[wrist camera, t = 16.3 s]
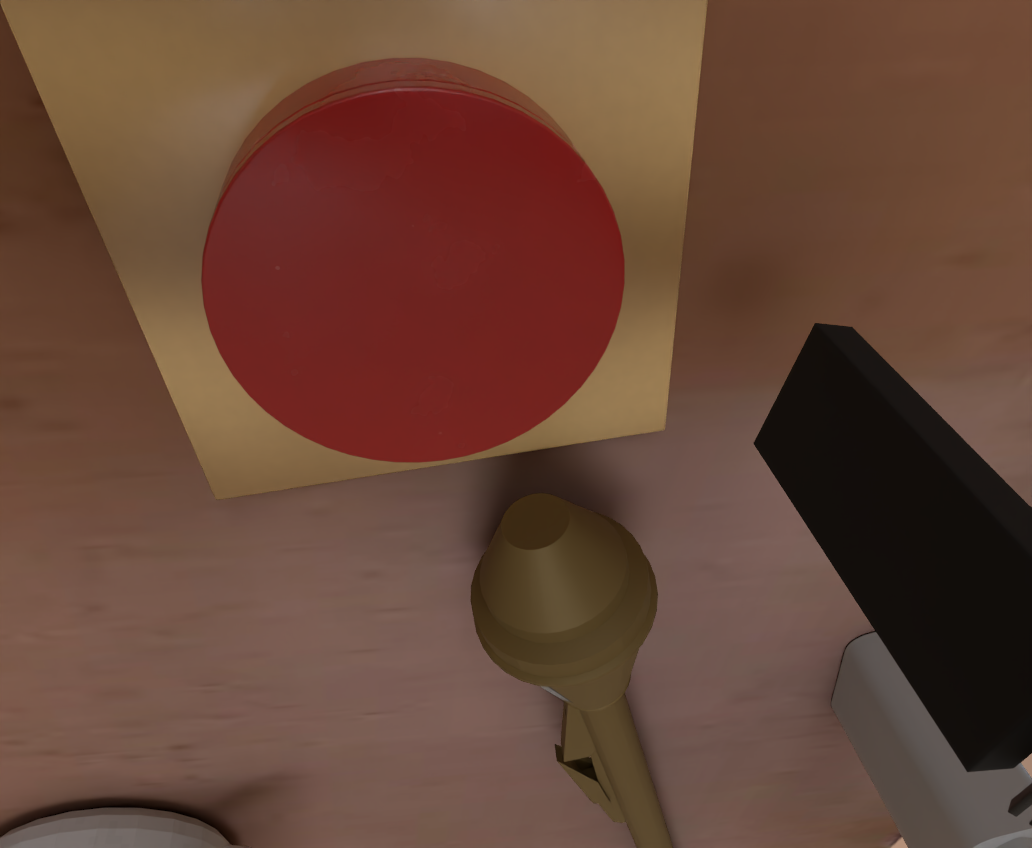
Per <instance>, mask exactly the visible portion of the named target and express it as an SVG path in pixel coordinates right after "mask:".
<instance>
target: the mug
mask: <svg viewBox="0 0 1032 848" xmlns="http://www.w3.org/2000/svg"><path fill="white" fill-rule="evenodd" d="M0 848H251V847H250V846H240V845H231V844H230V843H229V842H228V841H227V840H226V839H225V838H224V837H223V836H222V835H221V834H220V833H219V832H218V830H217V829H215V828H213V827H211V826H209V825H207V824H206V823H204V822H202V821H200V820H198V819H195V818H191V817H188V816H184V815H181V814H177V813H173V812H168V811H160V810H153V809H145V808H97V809H89V810H80V811H71V812H66V813H62V814H58V815H54V816H49V817H45V818H41V819H37V820H35V821H32V822H30V823H27V824H25V825H22V826H20V827H17V828H15V829H12V830H10V831H9V832H7V833H6V834H5V835H3V836H2V837H0Z"/></svg>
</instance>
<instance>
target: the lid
mask: <svg viewBox="0 0 1032 848" xmlns="http://www.w3.org/2000/svg"><path fill="white" fill-rule="evenodd" d="M201 284H202V295H203V305H204V309H205V313H206V317H207V321H208V325H209V329H210V332H211V334H212V337H213V339H214V341H215V344H216V346H217V349H218V351H219V353H220V355H221V357H222V358H223V360H224V362H225V363H226V365H227V367H228V368H229V370H230V372H231V373H232V375H233V376H234V378H235V379H236V380H237V381H238V383H239V384H240V385H241V386H242V388H243V389H244V390H245V391H246V393H247V394H248V395H249V396H250V397H251V398H252V399H253V400H254V401H255V402H256V403H257V404H258V405H259V406H260V407H261V408H262V409H264V410H265V411H266V412H267V413H268V414H270V415H271V416H272V417H274V418H275V419H276V420H278V421H279V422H280V423H282V424H283V425H284V426H286V427H287V428H289V429H291V430H293V431H294V432H296V433H298V434H299V435H301V436H303V437H305V438H306V439H309V440H311V441H313V442H315V443H318V444H320V445H322V446H324V447H327V448H330V449H333V450H336V451H339V452H342V453H345V454H348V455H352V456H357V457H362V458H366V459H371V460H379V461H388V462H407V463H421V462H432V461H443V460H448V459H454V458H459V457H464V456H468V455H472V454H475V453H478V452H482V451H485V450H488V449H491V448H493V447H496V446H498V445H501V444H503V443H506V442H508V441H510V440H512V439H514V438H516V437H518V436H520V435H522V434H524V433H526V432H527V431H529V430H531V429H532V428H534V427H535V426H537V425H538V424H540V423H541V422H543V421H544V420H546V419H547V418H549V417H550V416H551V415H552V414H553V413H555V412H556V411H557V410H558V409H559V408H561V407H562V406H563V405H564V404H565V403H566V402H567V401H568V400H569V399H570V398H571V397H572V396H573V395H574V394H575V393H576V392H577V391H578V390H579V389H580V388H581V387H582V385H583V384H584V383H585V381H586V380H587V379H588V377H589V376H590V375H591V373H592V372H593V371H594V370H595V368H596V366H597V364H598V363H599V361H600V359H601V358H602V356H603V354H604V353H605V351H606V349H607V346H608V344H609V342H610V339H611V337H612V335H613V333H614V330H615V327H616V324H617V320H618V317H619V313H620V309H621V305H622V298H623V291H624V284H625V259H624V252H623V245H622V238H621V233H620V230H619V227H618V223H617V220H616V217H615V213H614V210H613V208H612V206H611V204H610V202H609V200H608V198H607V195H606V193H605V191H604V189H603V187H602V186H601V184H600V183H599V181H598V180H597V178H596V177H595V175H594V174H593V172H592V171H591V169H590V168H589V166H588V165H587V163H586V162H585V160H584V159H583V158H582V156H581V155H580V153H579V152H578V150H577V149H576V147H575V146H574V145H573V143H572V142H571V140H570V139H569V137H568V136H567V134H566V133H565V132H564V131H563V130H562V128H561V127H560V126H559V125H558V124H557V123H556V122H555V121H554V119H553V118H552V117H551V116H550V115H549V114H548V113H547V112H546V111H545V110H544V109H542V108H541V107H540V106H539V105H538V104H536V103H535V102H534V101H533V100H532V99H530V98H529V97H528V96H527V95H525V94H524V93H522V92H520V91H519V90H517V89H516V88H514V87H512V86H511V85H509V84H508V83H506V82H504V81H502V80H500V79H498V78H496V77H493V76H491V75H489V74H486V73H484V72H482V71H480V70H477V69H474V68H470V67H467V66H463V65H460V64H456V63H452V62H447V61H440V60H433V59H426V58H389V59H382V60H375V61H368V62H362V63H358V64H355V65H352V66H348V67H345V68H342V69H338V70H335V71H332V72H330V73H328V74H326V75H324V76H322V77H320V78H317V79H315V80H313V81H311V82H309V83H307V84H305V85H304V86H302V87H301V88H299V89H298V90H296V91H295V92H293V93H292V94H290V95H289V96H287V97H286V98H284V99H283V100H282V101H281V102H280V103H278V104H277V105H276V106H275V107H274V108H273V109H272V110H271V111H270V112H268V113H267V114H266V115H265V116H264V117H263V118H262V119H261V120H260V122H259V123H258V124H257V125H256V126H255V128H254V129H253V130H252V131H251V133H250V134H249V135H248V136H247V137H246V139H245V140H244V142H243V144H242V145H241V147H240V149H239V150H238V152H237V154H236V155H235V157H234V159H233V161H232V162H231V165H230V168H229V170H228V173H227V175H226V178H225V180H224V183H223V185H222V188H221V191H220V194H219V197H218V200H217V203H216V206H215V209H214V212H213V215H212V218H211V221H210V224H209V227H208V232H207V236H206V241H205V245H204V250H203V256H202V273H201Z"/></svg>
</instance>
